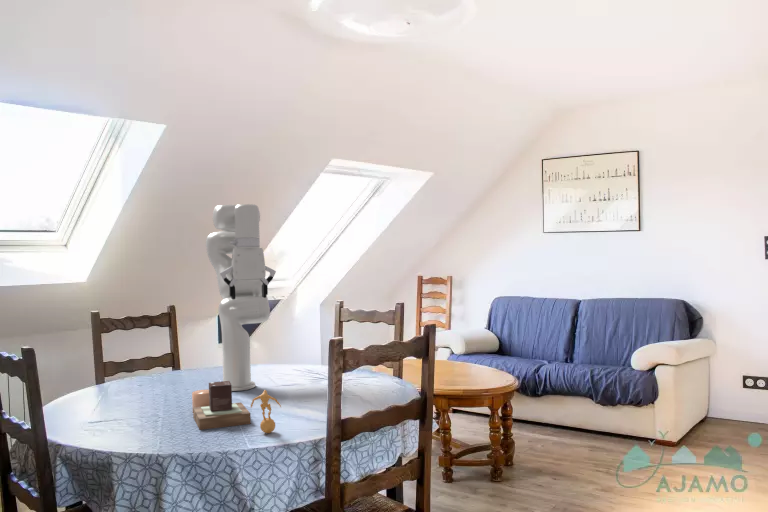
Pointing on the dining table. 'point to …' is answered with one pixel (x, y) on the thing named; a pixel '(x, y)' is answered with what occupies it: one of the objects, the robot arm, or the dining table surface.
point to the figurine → (267, 423)
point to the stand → (221, 417)
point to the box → (220, 396)
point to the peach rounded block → (200, 398)
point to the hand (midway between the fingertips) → (248, 298)
